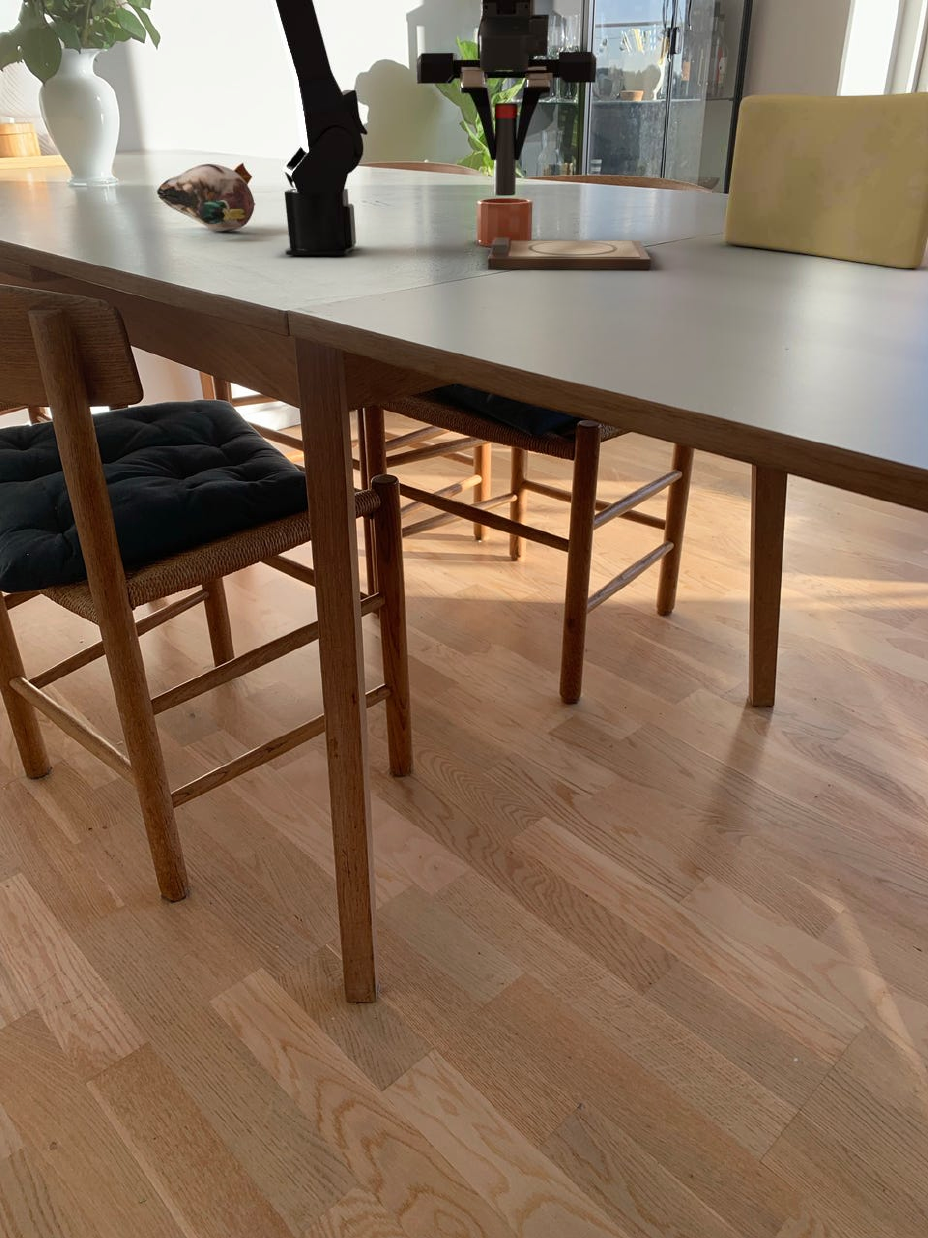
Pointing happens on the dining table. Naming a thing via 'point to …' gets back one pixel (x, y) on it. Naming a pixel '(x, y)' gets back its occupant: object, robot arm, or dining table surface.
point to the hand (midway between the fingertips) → (505, 159)
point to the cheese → (832, 177)
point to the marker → (505, 148)
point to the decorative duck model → (211, 196)
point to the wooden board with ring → (568, 255)
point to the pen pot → (504, 219)
